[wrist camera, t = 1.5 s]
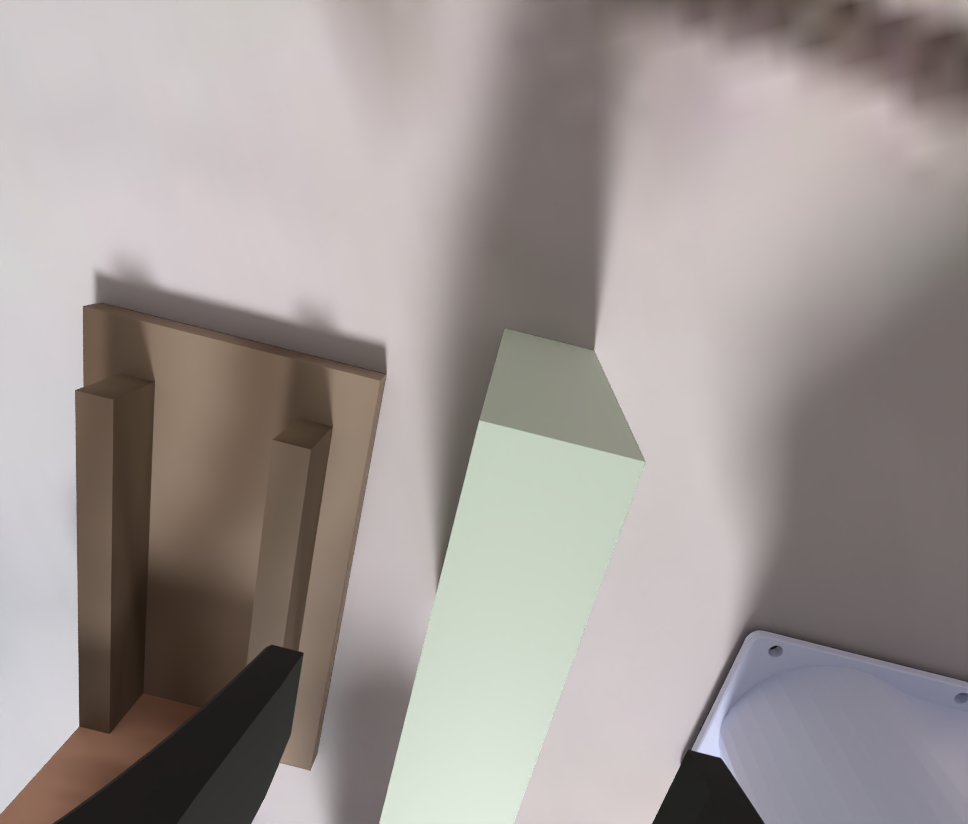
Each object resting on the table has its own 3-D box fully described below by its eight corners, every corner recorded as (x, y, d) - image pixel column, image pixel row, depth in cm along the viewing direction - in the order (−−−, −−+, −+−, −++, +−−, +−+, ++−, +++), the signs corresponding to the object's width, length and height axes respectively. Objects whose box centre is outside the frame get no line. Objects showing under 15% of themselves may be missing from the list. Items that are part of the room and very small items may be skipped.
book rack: (386, 374, 19) (311, 452, 13) (317, 754, 25) (242, 937, 19) (100, 302, 19) (-118, 344, 13) (99, 698, 25) (-50, 863, 19)
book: (593, 350, 18) (645, 461, 10) (511, 618, 22) (496, 868, 14) (504, 328, 18) (478, 420, 10) (436, 599, 22) (375, 838, 14)
